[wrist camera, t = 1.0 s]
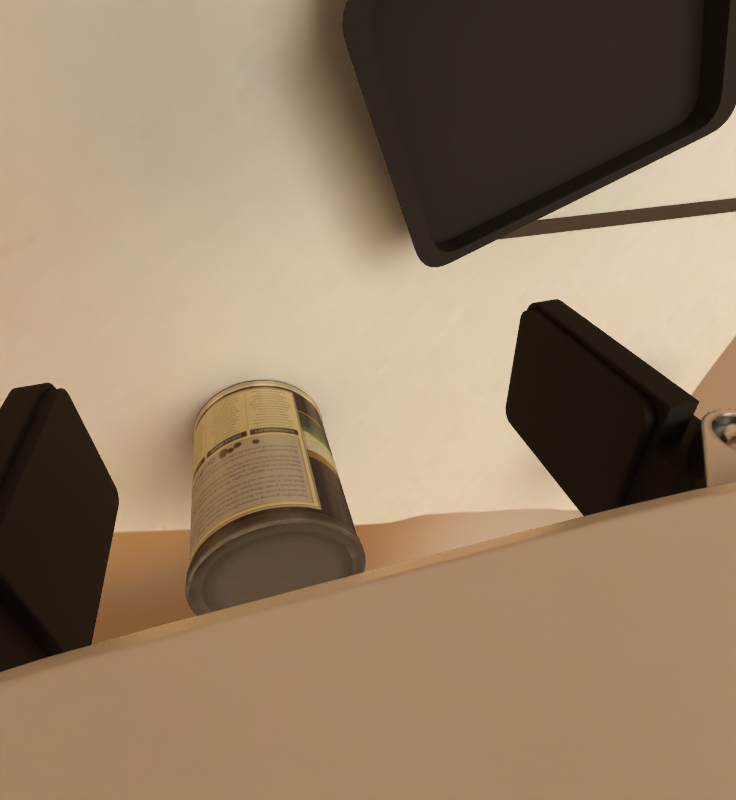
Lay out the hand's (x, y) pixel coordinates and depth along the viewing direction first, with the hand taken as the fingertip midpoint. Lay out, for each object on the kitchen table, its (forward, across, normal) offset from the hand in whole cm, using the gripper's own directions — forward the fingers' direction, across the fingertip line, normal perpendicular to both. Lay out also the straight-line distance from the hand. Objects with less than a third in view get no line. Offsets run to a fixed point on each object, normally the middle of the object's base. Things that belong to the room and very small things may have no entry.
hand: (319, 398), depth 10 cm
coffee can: (+23, +3, +19) cm, 30 cm away
